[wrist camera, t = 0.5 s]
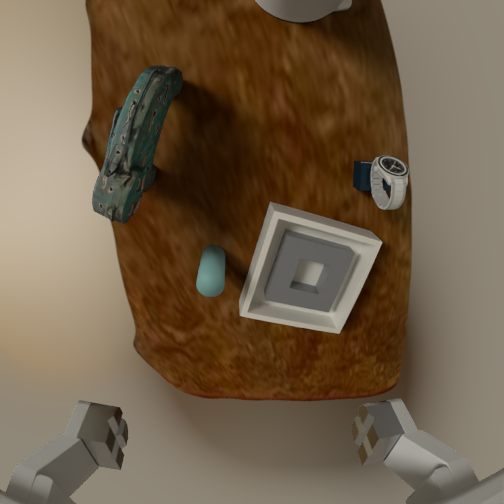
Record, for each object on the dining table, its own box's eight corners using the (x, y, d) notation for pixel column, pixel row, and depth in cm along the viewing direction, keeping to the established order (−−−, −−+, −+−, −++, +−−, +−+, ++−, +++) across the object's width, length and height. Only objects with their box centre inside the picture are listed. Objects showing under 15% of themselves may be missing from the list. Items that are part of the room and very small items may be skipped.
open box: (270, 201, 51) (274, 210, 47) (371, 231, 54) (382, 242, 50) (239, 300, 58) (239, 315, 54) (332, 318, 61) (339, 333, 57)
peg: (204, 242, 53) (199, 269, 44) (228, 247, 54) (227, 276, 45) (199, 263, 55) (193, 293, 46) (222, 268, 55) (220, 299, 46)
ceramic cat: (156, 196, 50) (115, 243, 31) (120, 185, 48) (64, 225, 30) (195, 77, 42) (171, 52, 24) (156, 67, 41) (110, 40, 23)
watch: (384, 150, 48) (417, 160, 38) (381, 196, 52) (412, 215, 42) (353, 149, 48) (383, 158, 38) (352, 196, 51) (379, 216, 41)
